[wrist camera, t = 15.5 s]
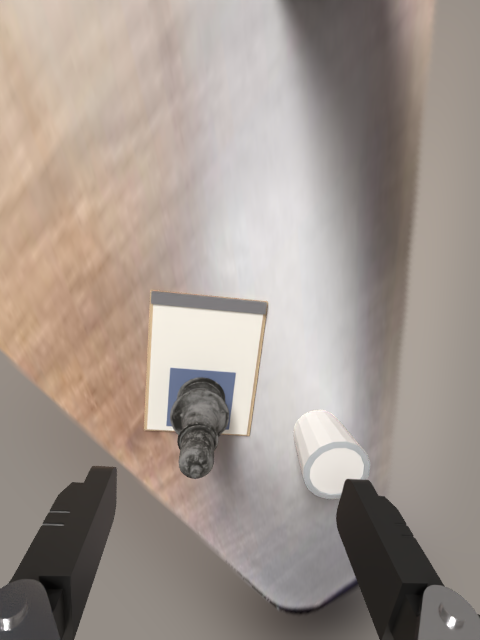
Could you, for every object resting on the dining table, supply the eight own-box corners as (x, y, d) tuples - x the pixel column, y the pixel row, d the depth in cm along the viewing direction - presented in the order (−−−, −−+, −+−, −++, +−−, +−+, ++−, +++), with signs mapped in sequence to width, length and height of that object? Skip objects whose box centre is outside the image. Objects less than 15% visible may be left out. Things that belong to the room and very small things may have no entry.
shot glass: (335, 458, 41) (359, 503, 35) (282, 451, 41) (295, 496, 34) (351, 409, 40) (379, 446, 33) (295, 400, 39) (313, 437, 32)
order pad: (150, 290, 34) (149, 291, 33) (267, 301, 35) (268, 303, 34) (144, 428, 38) (142, 433, 37) (248, 434, 40) (249, 439, 39)
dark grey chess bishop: (239, 401, 37) (249, 479, 26) (199, 432, 38) (192, 522, 26) (203, 364, 36) (198, 430, 24) (162, 397, 37) (138, 477, 25)
